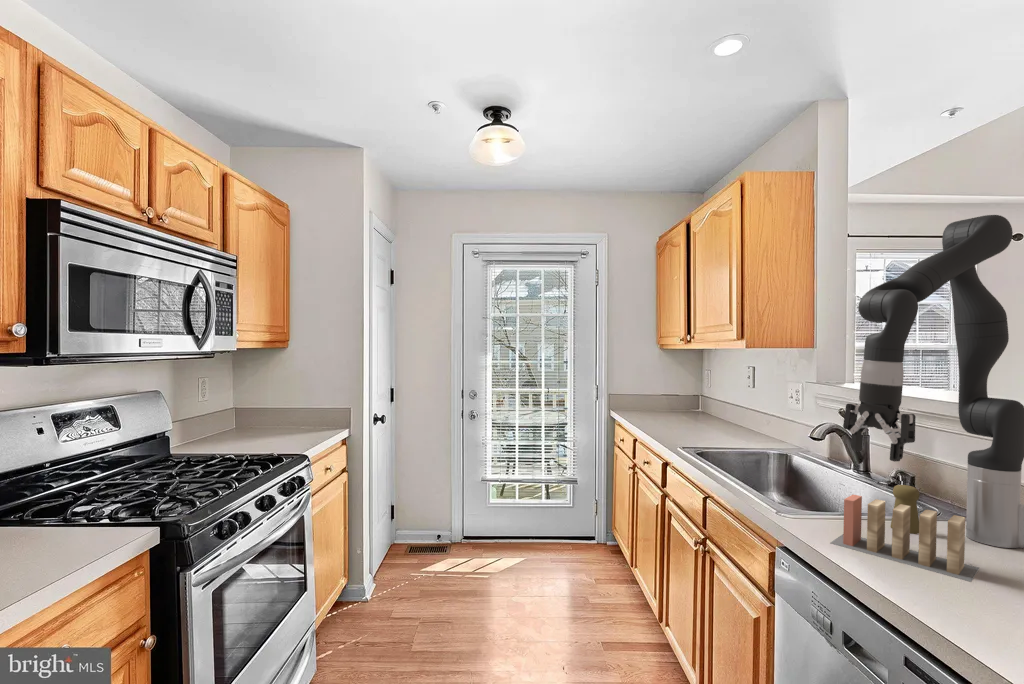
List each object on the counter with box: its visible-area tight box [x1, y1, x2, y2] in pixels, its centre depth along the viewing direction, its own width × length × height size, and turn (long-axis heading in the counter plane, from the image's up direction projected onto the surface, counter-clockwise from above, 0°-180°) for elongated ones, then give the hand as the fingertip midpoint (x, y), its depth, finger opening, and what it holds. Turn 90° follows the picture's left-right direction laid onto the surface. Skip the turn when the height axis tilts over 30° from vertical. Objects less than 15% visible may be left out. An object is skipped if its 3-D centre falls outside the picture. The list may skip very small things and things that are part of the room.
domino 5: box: [946, 514, 966, 575], centre depth 104 cm, size 2×6×10 cm, turn 131°
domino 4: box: [918, 509, 938, 567], centre depth 108 cm, size 2×6×10 cm, turn 131°
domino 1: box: [842, 494, 863, 546], centre depth 118 cm, size 2×6×10 cm, turn 131°
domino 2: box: [866, 498, 886, 553], centre depth 114 cm, size 2×6×10 cm, turn 131°
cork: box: [890, 484, 920, 535], centre depth 127 cm, size 6×6×11 cm
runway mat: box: [829, 533, 980, 583], centre depth 111 cm, size 24×10×1 cm, turn 41°
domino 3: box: [891, 504, 911, 560], centre depth 111 cm, size 2×6×10 cm, turn 131°
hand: (875, 455), depth 114 cm, fingers open, 8 cm apart
